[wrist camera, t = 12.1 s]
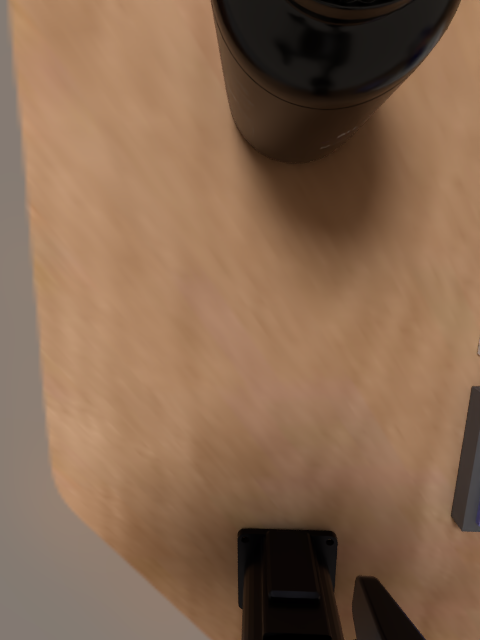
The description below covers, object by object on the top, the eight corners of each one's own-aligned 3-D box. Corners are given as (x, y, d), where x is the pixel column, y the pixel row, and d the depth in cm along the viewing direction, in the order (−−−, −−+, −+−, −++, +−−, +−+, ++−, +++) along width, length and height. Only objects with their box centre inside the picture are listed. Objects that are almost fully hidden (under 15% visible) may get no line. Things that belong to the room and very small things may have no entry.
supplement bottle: (350, 176, 18) (533, 62, 6) (218, 154, 18) (147, -3, 6) (385, 19, 16) (736, -562, 4) (240, -5, 16) (199, -648, 4)
